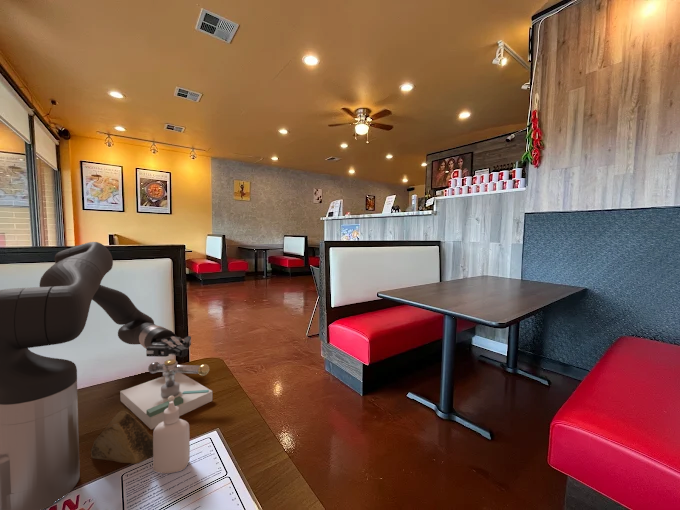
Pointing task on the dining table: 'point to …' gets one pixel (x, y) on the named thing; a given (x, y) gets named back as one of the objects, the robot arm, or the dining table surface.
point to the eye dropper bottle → (171, 442)
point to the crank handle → (176, 370)
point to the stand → (164, 398)
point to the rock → (123, 441)
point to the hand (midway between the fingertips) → (184, 353)
